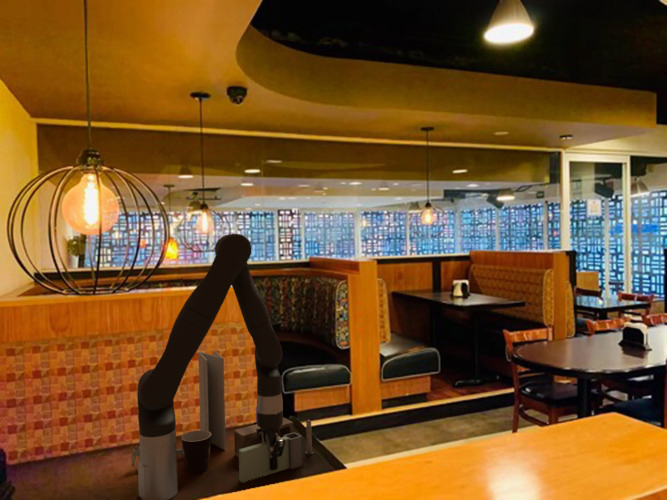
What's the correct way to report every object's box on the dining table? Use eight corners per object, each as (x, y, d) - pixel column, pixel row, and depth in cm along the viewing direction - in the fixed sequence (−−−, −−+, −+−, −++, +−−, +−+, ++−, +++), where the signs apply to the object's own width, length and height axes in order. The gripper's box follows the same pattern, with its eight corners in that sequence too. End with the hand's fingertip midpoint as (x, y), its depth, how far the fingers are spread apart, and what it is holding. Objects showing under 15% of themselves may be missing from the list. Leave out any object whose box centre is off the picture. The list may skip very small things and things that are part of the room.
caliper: (132, 468, 152) (131, 447, 152) (131, 466, 153) (130, 446, 153) (200, 452, 161) (200, 433, 161) (200, 451, 162) (199, 432, 162)
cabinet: (257, 472, 148) (256, 435, 148) (234, 455, 161) (234, 421, 160) (314, 454, 160) (313, 420, 160) (289, 439, 172) (288, 407, 172)
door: (244, 485, 140) (243, 453, 140) (237, 479, 144) (237, 448, 144) (302, 466, 152) (302, 436, 152) (295, 461, 155) (294, 432, 155)
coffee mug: (204, 476, 146) (203, 442, 146) (176, 474, 148) (175, 440, 148) (221, 459, 158) (220, 427, 157) (195, 457, 159) (194, 426, 159)
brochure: (200, 437, 175) (198, 351, 175) (216, 435, 178) (214, 349, 177) (208, 453, 162) (206, 360, 162) (225, 449, 165) (223, 358, 164)
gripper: (247, 405, 151) (248, 462, 151) (270, 418, 140) (271, 480, 140) (269, 400, 155) (270, 456, 156) (293, 412, 144) (294, 472, 144)
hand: (271, 467), depth 148 cm, fingers closed
